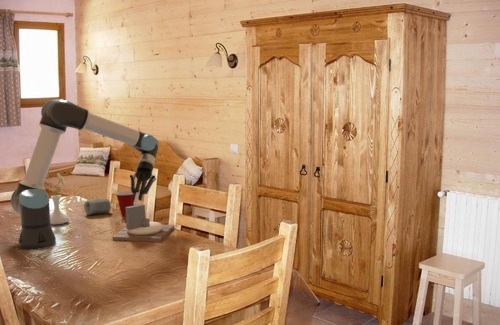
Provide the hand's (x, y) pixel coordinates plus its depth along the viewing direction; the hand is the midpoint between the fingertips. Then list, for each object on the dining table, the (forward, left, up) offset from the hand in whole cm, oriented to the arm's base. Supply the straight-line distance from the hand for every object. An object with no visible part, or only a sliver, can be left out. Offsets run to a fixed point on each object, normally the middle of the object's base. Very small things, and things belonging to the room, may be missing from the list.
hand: (135, 205), depth 257 cm
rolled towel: (+28, +31, -12) cm, 43 cm away
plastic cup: (+28, +15, -12) cm, 34 cm away
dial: (-7, -6, -10) cm, 13 cm away
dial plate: (-6, -6, -12) cm, 15 cm away
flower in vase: (+8, +43, -12) cm, 45 cm away
